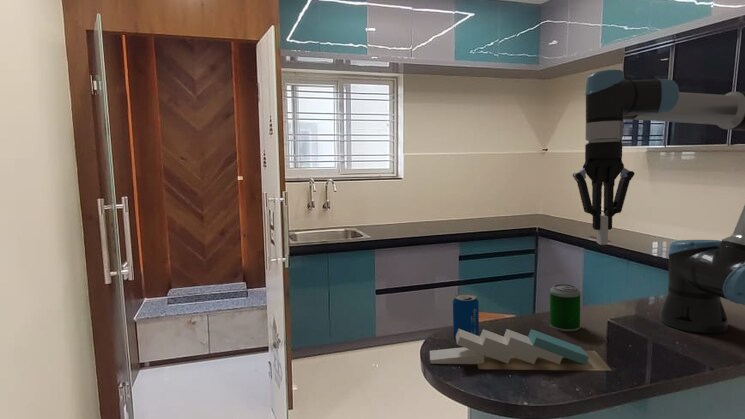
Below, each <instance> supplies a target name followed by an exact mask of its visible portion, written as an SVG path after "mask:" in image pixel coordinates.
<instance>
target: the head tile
mask: <svg viewBox="0 0 745 419" xmlns="http://www.w3.org/2000/svg"><path fill="white" fill-rule="evenodd" d="M527 337H528V338H529V339H530V341H531V343H532V345H533V346H536V347H539V348H541V349H544V350H547V351H549V352H552V353H555V354H557V355H560V356H563V357H566V358H568V359H571V360H574V361H576V362H579V363H582V364H584V365H586V363H587V361H588V358H589V356H588V355H587V354H586V352H585V351H586V350H584V349H583V347H582V346H579V345H576V344H573V343H570V342H569V341H568V342H567V341H565V340H562V339H560V338H558V337H554V336H552V335H548V334H546V333H543V332H540V331H537V330H535V329H532V328H530V330H529V333H528V335H527Z"/></svg>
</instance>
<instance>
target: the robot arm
mask: <svg viewBox="0 0 745 419" xmlns="http://www.w3.org/2000/svg"><path fill="white" fill-rule="evenodd" d="M679 89H680V88H679V85H678V83H677V82H675V81H674V80H673V79H670V78H660V77H658V78H654V79H653V78H651V79H648V78H647V79H626V78H625V73H624V71H623V70H622V69H607V70H606V69H604V70H599V71H595V72H592V73H590V74H589V75H587V78H586V83H585V94H584V96H585V140H586V141H588V143H587V142H586V144H585V145H584V147H585V150H584V160H585V161H584V164H583V165H582V169H580V170H579V171H577V172H574V173H572V177H573V179H574V181H576V183H577V187H578V191H579V195H580V200H581V203H582V208H583V211H584V213H587V214H590V215H591V216H592V229H593V230H595V231H596V243H597V244H599V245H600V246H606V245H607V246H608V244H609V242H608V241H609V240H608V239H609V231H610V230H612V229H613V217H614V216H615V215H616V214H620V213H622V212H623V211H622V210H623V207H624V204H625V200H626V196H627V192H628V189H629V186H630V182H631V180H632V179H633V178H634V176H635V174H636V173H635V171H633V170H628V168H625V165H624V163H623V161H622V158H623V143H622V141H620V140H621V139H623V135H624V133H623V131H624V130H623V129H624V128H623V127H624V126H623V124H624V122H623V121H624V120H635V121H649V122H650V121H651V122H664V123H665V122H666V123H667V122H668V123H669V122H670V123H686V124H699V125H700V124H702V125H712V126H713V125H715V126H718V127H719V128H720V129H723V130H732V131H741V132H745V91H730V92H728V93H725V94H715V93H714V94H713V93H698V92H681V91H680V90H679ZM586 175H587V176H586ZM587 177H588V178H589V179H590V180H591V187H592V188H591V190H592V191H591V195H592V197H590V193H589V192H590V191H589V188H588V184H587V181H586V178H587ZM618 177H620V178H619V181H618V185H617V189H616V191H614V188H615V183H616V182H615V180H616V179H617V178H618ZM602 189H603V191H602ZM602 192H603V193H602ZM614 192H615V193H614ZM614 194H615V195H614ZM602 197H603V199H602ZM591 199H592V200H591ZM602 200H603V214H602ZM738 218H739V219H738V221H737V223H736V225H735V228H734V230H733V233H732V234H731V235H730V236H727V237H724V238H722V240H717V239H681V240H674V241H673V242H671V243H670V245H669V251H668V284H667V295H666V296H665V298H664V302H663V304H662V306H661V308H660V311H659V320H660V322H662V323H663V324H664V325H667V326H668V327H671V328H674V329H677V330H681V331H686V332H691V333H699V334H720V333H725V332H726V331H728V328H729V327H728V326H729V320H728V316H727V314H726V312H725V309H724V308H725V307H724V305H723V303H722V299H725V300H728V301H730V302H731V303H735V304H739V305H743V306H745V204H744V205H743V208H742V211H741V213H740V216H739V217H738Z"/></svg>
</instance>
